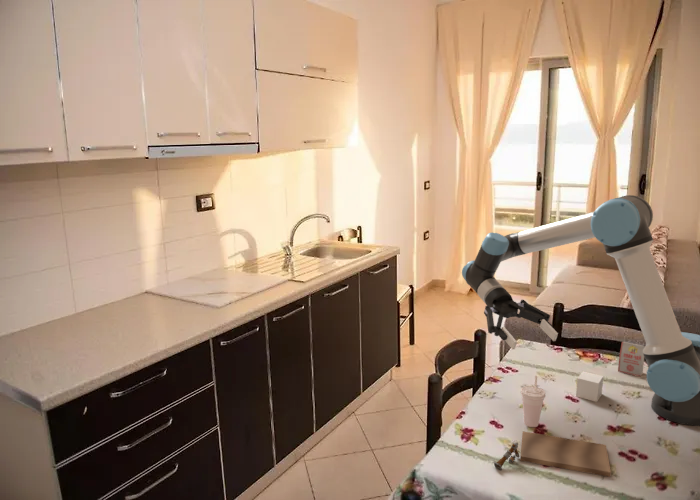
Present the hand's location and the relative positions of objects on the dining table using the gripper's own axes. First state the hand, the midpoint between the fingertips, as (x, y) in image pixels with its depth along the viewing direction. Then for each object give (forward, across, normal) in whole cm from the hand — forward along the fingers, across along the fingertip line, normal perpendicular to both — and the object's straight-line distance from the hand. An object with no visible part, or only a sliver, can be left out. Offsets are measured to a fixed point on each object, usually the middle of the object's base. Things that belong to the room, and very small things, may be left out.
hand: (535, 341), depth 151 cm
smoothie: (+13, +5, -18) cm, 23 cm away
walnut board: (+27, +7, -12) cm, 30 cm away
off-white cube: (+6, -22, -22) cm, 31 cm away
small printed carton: (-2, -46, -26) cm, 53 cm away
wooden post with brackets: (+25, +22, -13) cm, 36 cm away
